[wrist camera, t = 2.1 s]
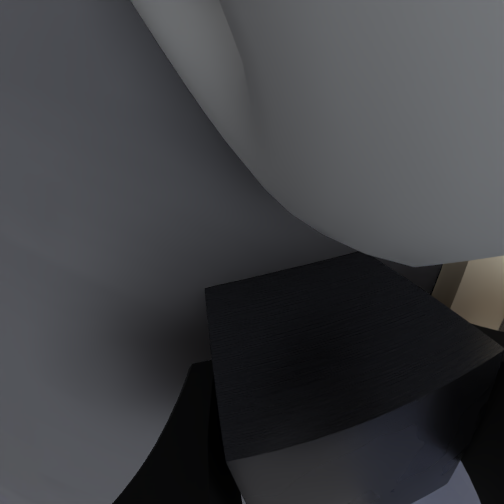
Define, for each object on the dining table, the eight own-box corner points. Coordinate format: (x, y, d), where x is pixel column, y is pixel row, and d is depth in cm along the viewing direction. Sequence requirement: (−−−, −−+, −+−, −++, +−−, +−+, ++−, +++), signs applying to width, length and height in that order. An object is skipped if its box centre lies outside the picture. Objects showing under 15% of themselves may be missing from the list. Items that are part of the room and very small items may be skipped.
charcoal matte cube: (364, 371, 11) (447, 483, 6) (238, 407, 11) (273, 552, 5) (362, 250, 10) (505, 348, 4) (204, 288, 9) (226, 461, 4)
